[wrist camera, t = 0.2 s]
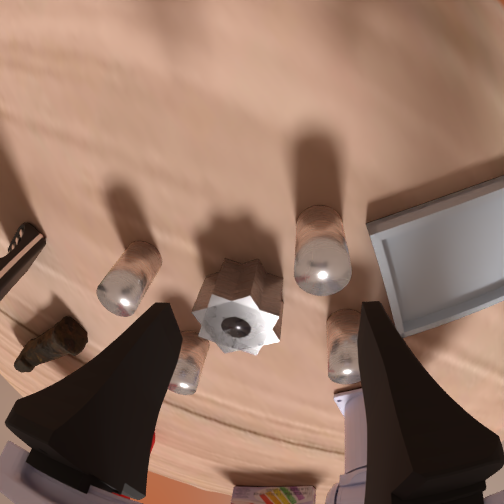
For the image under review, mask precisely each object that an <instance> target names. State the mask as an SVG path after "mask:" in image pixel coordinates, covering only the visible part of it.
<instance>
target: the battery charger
mask: <svg viewBox="0 0 504 504" xmlns="http://www.w3.org/2000/svg"><path fill="white" fill-rule="evenodd" d="M45 245H46V240H45V239H44V238H43V235H42V234H41V233H39V232H38V231H37V230H36V229H35V228H34V227H33V226H32V225H31V224H29V223H23V224H22V225H21V226H20V227H19V228H18V230H17V232H16V234H15V236H14V238H13V240H12V242H11V244H10V246H9V248H8V254H7V255H6V256H5V257H2V258H0V301H1V300H2V299H3V298H4V296H5V295H6V294H7V293H8V292H9V291H10V289H11V288H12V287H13V286H14V285H15V284H16V283H17V282H18V281H19V279H20V278H21V277H22V276H23V275H24V274H25V273H26V272H27V271H28V269H29V268H30V266H31V265H32V263H33V262H34V260H35V259H36V258H37V256H38V255H39V253H40V252H41V250H42V249H43V247H44V246H45Z"/></svg>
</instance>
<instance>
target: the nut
mask: <svg viewBox="0 0 504 504" xmlns="http://www.w3.org/2000/svg"><path fill="white" fill-rule="evenodd" d="M282 285H283V278H281V277H278V276H275V275H272V274H269V273H266V271H265V269H264V268H263V266H262V264H261V262H260V261H259V259H256V260H253V261H250V262H247V263H244V264H240V263H238V262H235V261H232V260H229V259H226V258H225V259H224V262H223V265H222V267H221V270H220V272H217V273H214V274H211V275H208V276H206V277H205V280H204V282H203V284H202V287H201V289H200V292H199V294H198V297H197V299H196V302H195V304H194V307H193V309H192V314H193V315H194V316H195V318H196V319H197V320H198V321H199V323H200V324H201V325H202V326H201V329H200V332H199V335H198V337H201V338H204V339H207V340H210V341H213V342H215V343H216V344H217V345H218V346H219V347H220V349H221V350H222V351H223V352H224V353H228V352H233V351H238V350H241V351H244V352H247V353H250V354H253V355H257V354H258V352H259V351H260V349H261V347H262V346H263V345H266V344H271V343H275V342H280V334H281V324H282V314H283V304H284V303H283V301H282V299H281V294H282Z"/></svg>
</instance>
